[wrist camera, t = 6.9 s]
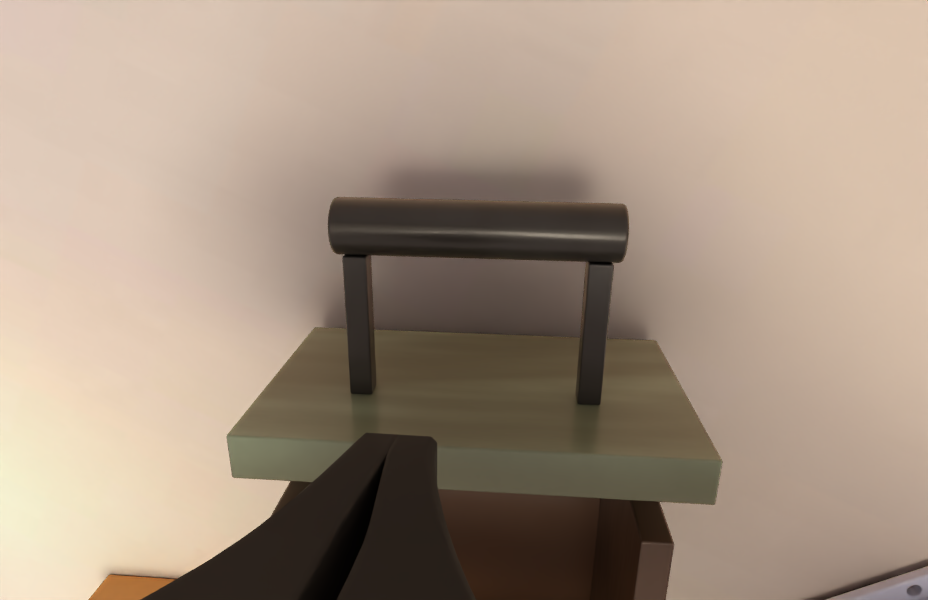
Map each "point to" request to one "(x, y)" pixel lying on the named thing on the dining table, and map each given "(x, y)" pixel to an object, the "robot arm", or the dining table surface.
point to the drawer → (499, 407)
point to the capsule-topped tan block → (128, 587)
